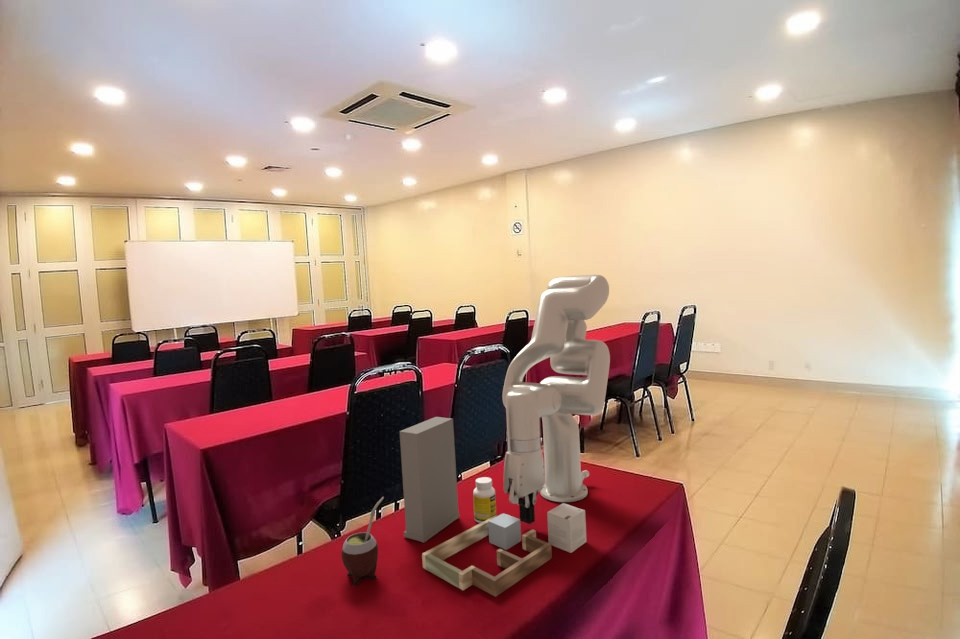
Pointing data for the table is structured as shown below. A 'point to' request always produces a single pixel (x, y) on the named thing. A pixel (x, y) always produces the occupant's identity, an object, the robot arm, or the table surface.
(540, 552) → the box
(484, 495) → the supplement bottle
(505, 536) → the block
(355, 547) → the mate gourd
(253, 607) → the table surface
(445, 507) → the tall upright grey box
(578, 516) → the skincare box
